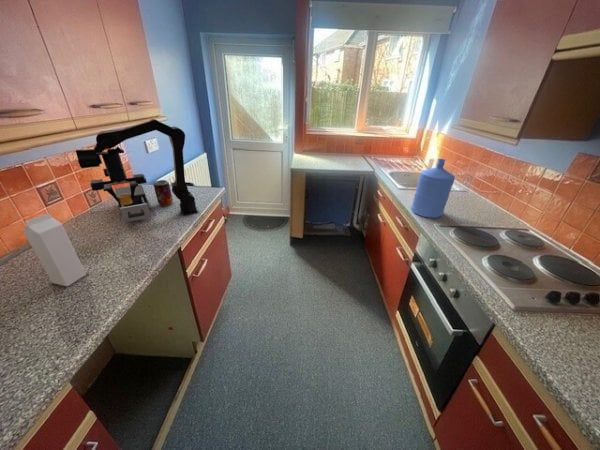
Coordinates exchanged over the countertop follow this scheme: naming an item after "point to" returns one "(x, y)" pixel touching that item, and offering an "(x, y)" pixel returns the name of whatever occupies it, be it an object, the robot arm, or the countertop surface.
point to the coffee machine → (138, 192)
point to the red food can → (163, 192)
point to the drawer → (135, 210)
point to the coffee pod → (125, 199)
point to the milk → (54, 249)
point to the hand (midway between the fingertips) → (126, 200)
